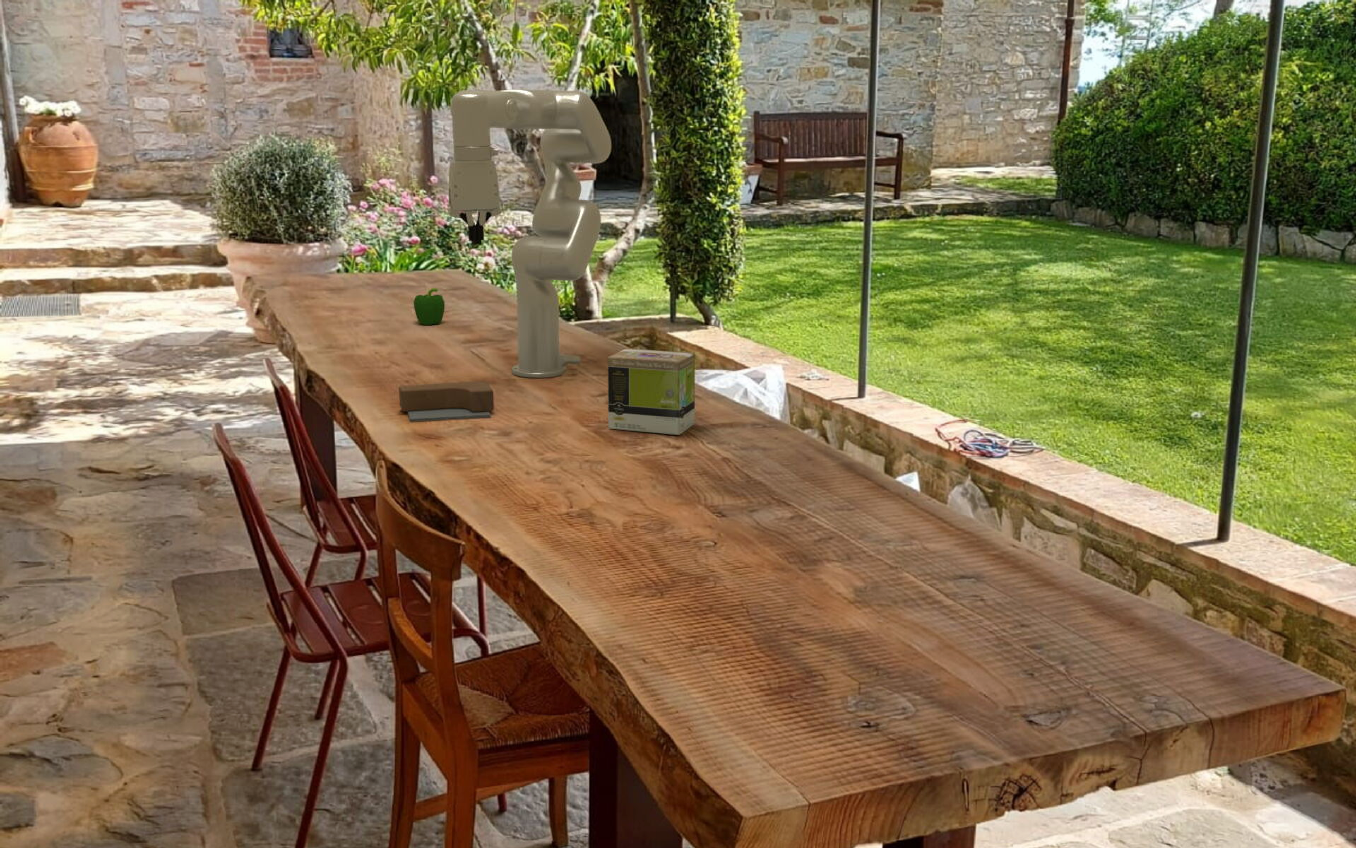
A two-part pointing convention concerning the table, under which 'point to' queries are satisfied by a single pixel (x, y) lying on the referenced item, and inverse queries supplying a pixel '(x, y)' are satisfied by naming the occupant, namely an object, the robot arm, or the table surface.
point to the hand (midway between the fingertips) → (476, 243)
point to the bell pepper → (429, 308)
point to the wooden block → (447, 396)
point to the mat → (446, 414)
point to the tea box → (651, 391)
